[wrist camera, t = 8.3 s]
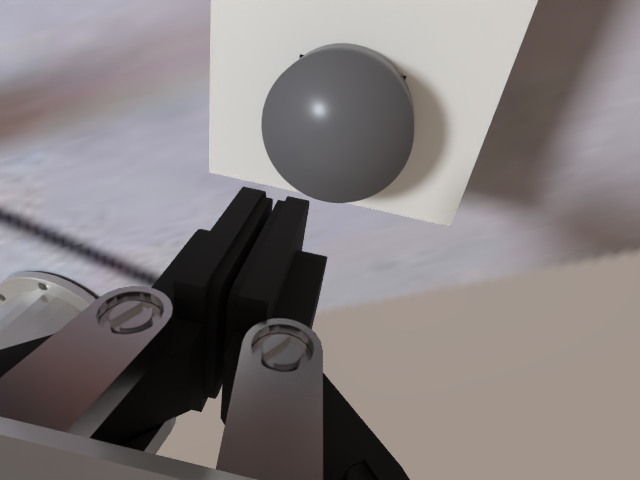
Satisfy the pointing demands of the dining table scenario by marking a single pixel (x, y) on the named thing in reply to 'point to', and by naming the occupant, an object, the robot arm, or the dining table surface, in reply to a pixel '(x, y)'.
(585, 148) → the dining table surface
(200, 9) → the dining table surface
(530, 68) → the dining table surface
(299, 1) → the control box
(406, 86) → the knob
